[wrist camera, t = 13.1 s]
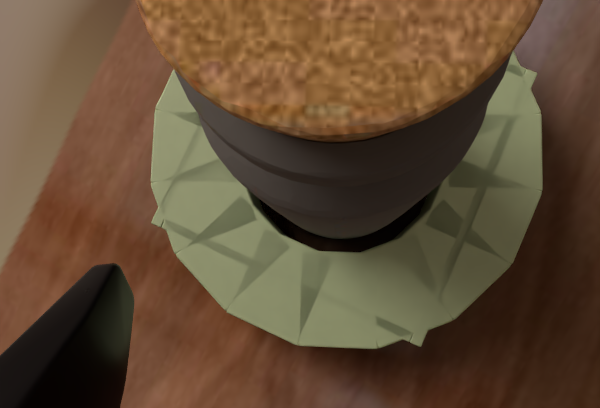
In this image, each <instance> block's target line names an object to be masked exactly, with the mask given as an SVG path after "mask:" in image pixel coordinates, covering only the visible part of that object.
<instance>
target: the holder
mask: <svg viewBox="0 0 600 408" xmlns="http://www.w3.org/2000/svg"><path fill="white" fill-rule="evenodd" d="M536 76H537V73H536V72H533V71H531V70H528V69H527V70H526V68H523V67H521V66H520V64H519V62H518V60H517V57H516V55H515V53H514V51H513V52H512V54H511V57H510V60H509V63H508V66H507V69H506V72H505V75H504V77H503V79H502V80H501V82H500V84H499V86H498V87H497V89H496V91H495V92H494V94H493V96H492V98H491V99H490V101H489V102H488V106H487V110H486V114H485V118H484V120H483V123H482V126H481V128H480V130H479V132H478V134H477V136H476V138H475V140H474V141H473V143H472V145H471V147H470V148H469V150H468V152H467V153H466V155H465V156H464V158H463V159H462V160H461V161H460V163H459V164H458V165H457V166H456V168H455V169H454V170H453V171H452V172H451V173H450V174H449V175H448V176H447V177H446V178H445V179H444V180H443V181H442V182H441V183H440V184H439V185H438V186H437V187H436V188H435V189H433V190H432V191H431V192H430V193H428V195H427V197H426V200H425V202H424V204H423V207H422V209H421V211H420V213H419V215H418V216H417V217H416V218H415V219H414V220H413V221H412V222H411V223H410V224H409V225H408V226H407V227H406V228H404V229H403V230H402V231H401V232H400V233H399V234H398V235H397V236H396V237H395V238H394V239H393V240H391V241H388V242H386V243H383V244H380V245H378V246H375V247H373V248H370V249H367V250H365V251H362V252H331V251H318V250H316V249H314V248H311V247H309V246H307V245H305V244H302V243H300V242H298V241H296V240H294V239H291V238H289V237H287V235H286V234H285V233H284V232H283V231H282V230H281V229H280V228H279V227H278V226H277V225H276V224H275V223H274V222H273V220H272V219H271V218H270V217H269V216H268V215H267V214H266V213H265V212H264V211H263V208H262V205H261V203H260V200H259V198H258V197H256V196H255V195H254V194H253V193H252V192H250V191H249V190H248V189H247V188H246V187H245V186H243V185H242V184H241V183H240V182H239V181H238V180H237V179H236V178H235V177H234V176H233V175H232V174H231V173H230V171H229V170H228V169H227V168H226V166H225V165H224V164H223V162H222V161H221V160H220V159H219V157H218V156H217V155H216V153H215V152H214V150H213V149H212V147H211V145H210V143H209V141H208V139H207V137H206V135H205V133H204V130H203V128H202V125H201V122H200V119H199V115H198V113H197V112H196V110H195V109H194V107H193V106H192V104H191V103H190V102H189V100H188V98H187V96H186V94H185V92H184V90H183V88H182V86H181V84H180V82H179V80H178V77H177V75H176V73H175V70H173V72H172V74H171V76H170V78H169V80H168V82H167V85H166V87H165V89H164V91H163V93H162V95H161V97H160V99H159V101H158V104H157V106H156V110H155V115H154V132H153V149H152V166H151V187H152V190H153V193H154V196H155V199H156V202H157V205H158V209H157V211H156V213H155V215H154V218H153V220H152V222H151V223H152V224H154V225H156V226H158V227H162V228H163V229H165V230H166V231H167V233H168V236H169V239H170V242H171V245H172V248H173V251H174V253H175V254H176V256H177V257H178V259H179V260H180V261H181V262H182V263H183V264H184V265H185V266H186V267H187V269H188V270H189V271H190V272H191V273H192V274H193V275H194V276H195V278H196V279H197V280H198V281H199V282H200V283H201V284H202V285H203V286H204V288H205V289H206V290H207V291H208V292H209V293H210V294H211V295H212V297H213V298H214V299H215V300H216V301H217V302H218V303H219V304H220V306H221V307H222V308H223V309H224V310H226V311H227V313H229V314H231V315H233V316H235V317H238V318H240V319H242V320H244V321H246V322H248V323H250V324H252V325H254V326H256V327H259V328H261V329H263V330H265V331H267V332H269V333H271V334H273V335H275V336H278V337H280V338H282V339H284V340H286V341H288V342H290V343H292V344H294V345H298V346H313V347H336V348H359V349H377V348H382V347H385V346H388V345H390V344H393V343H396V342H398V341H401V340H405V341H407V342H410V343H412V344H414V345H416V346H418V347H421V346H422V343H423V341H424V339H425V336H426V334H427V332H428V330H430V329H433V328H436V327H438V326H441V325H444V324H446V323H449V322H451V321H452V319H453V320H454V319H456V318H457V317H458V316H459V315H460V314H461V313H462V312H463V311H464V310H465V309H467V308H468V307H469V306H470V305H471V304H472V303H473V302H474V301H475V300H476V299H477V298H478V297H479V296H480V295H481V294H482V293H483V292H484V291H485V290H486V289H487V288H488V287H490V286H491V285H492V284H493V283H494V282H495V281H496V280H497V279H498V278H499V277H500V276H501V275H502V274H503V273H504V272H505V271H506V270H507V269H508V268H509V267H510V266H511V264H513V262H514V259H515V257H516V255H517V252H518V250H519V247H520V245H521V243H522V240H523V238H524V235H525V233H526V231H527V228H528V226H529V224H530V221H531V219H532V216H533V214H534V212H535V209H536V207H537V204H538V202H539V200H540V197H541V195H542V190H543V173H542V115H541V114H540V113H541V111H540V108H539V106H538V104H537V102H536V100H535V97H534V95H533V93H532V91H531V88H532V85H533V83H534V81H535V78H536Z"/></svg>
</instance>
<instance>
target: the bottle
mask: <svg viewBox="0 0 600 408" xmlns="http://www.w3.org/2000/svg"><path fill="white" fill-rule="evenodd" d="M542 1H543V0H136V2H137V6H138V9H139V11H140V14H141V16H142V19H143V21H144V23H145V26H146V28H147V30H148V33H149V35H150V36H151V38H152V40H153V41H154V43H155V45H156V46H157V48H158V50H159V51H160V53H161V54H162V55H163V56H164V58H165V59H166V60H167V61H168V63H169V64H170V65H171V66H172V67H173V69H174V70H175V73H176V75H177V77H178V80H179V82H180V84H181V86H182V88H183V90H184V92H185V94H186V96H187V98H188V100H189V102H190V103H191V104H192V106H193V107H194V109H195V110H196V112H197V113H198V115H199V119H200V122H201V125H202V128H203V130H204V133H205V135H206V137H207V139H208V141H209V143H210V145H211V147H212V149H213V150H214V152H215V153H216V155H217V156H218V157H219V159H220V160H221V161H222V162H223V164H224V165H225V166H226V168H227V169H228V170H229V171H230V173H231V174H232V175H233V176H234V177H235V178H236V179H237V180H238V181H239V182H240V183H241V184H242V185H243V186H245V187H246V188H247V189H248V190H249V191H250V192H252V193H253V194H254V195H255V196H256V197H258V198H259V199H260V200H262V201H263V202H264V203H266V204H267V205H268V206H270V207H271V208H272V209H274V210H275V211H277V212H278V213H280V214H281V215H282V216H284V217H285V218H287V219H288V220H290V221H291V222H293V223H294V224H296V225H297V226H299V227H301V228H302V229H304V230H306V231H308V232H310V233H313V234H315V235H318V236H322V237H326V238H331V239H352V238H358V237H362V236H365V235H368V234H371V233H374V232H376V231H378V230H379V229H381V228H383V227H385V226H386V225H388V224H390V223H391V222H393V221H394V220H395V219H397V218H398V217H399V216H401V215H402V214H404V213H405V212H406V211H407V210H409V209H410V208H411V207H412V206H414V205H415V204H416V203H417V202H418V201H420V200H421V199H422V198H423V197H425V196H426V195H427V194H428V193H430V192H431V191H432V190H433V189H435V188H436V187H437V186H438V185H439V184H440V183H441V182H442V181H443V180H444V179H445V178H446V177H447V176H448V175H449V174H450V173H451V172H452V171H453V170H454V169H455V168H456V166H457V165H458V164H459V163H460V161H461V160H462V159H463V158H464V156H465V155H466V153H467V152H468V150H469V148H470V147H471V145H472V143H473V141H474V140H475V138H476V136H477V134H478V132H479V130H480V128H481V126H482V123H483V120H484V118H485V114H486V110H487V106H488V102H489V101H490V99H491V98H492V96H493V94H494V92H495V91H496V89H497V87H498V86H499V84H500V82H501V80H502V79H503V77H504V75H505V72H506V69H507V66H508V63H509V60H510V57H511V54H512V52H513V50H514V49H515V47H516V46H517V44H518V43H519V41H520V40H521V39H522V37H523V36H524V34H525V33H526V31H527V30H528V28H529V27H530V25H531V23H532V21H533V19H534V17H535V15H536V13H537V11H538V9H539V7H540V6H541V4H542Z"/></svg>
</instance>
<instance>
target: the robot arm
mask: <svg viewBox="0 0 600 408" xmlns="http://www.w3.org/2000/svg"><path fill="white" fill-rule="evenodd" d="M133 312H134V297H133V293H132V291H131V288H130V286H129V284H128V282H127V280H126V278H125V276H124V274H123V272H122V269H121V268H120V266H119V265H117V264H114V263H112V264H102V265H96V266H94V267H92V268H91V269H90V270H89V271H88V272H87V273H86V274H85V275H84V276H83V277H82V278H81V279H79V280H78V281H77V282H76V283H75V284H74V285H73V286H72V287H71V288H70V289H69V290H68V291H67V292H66V293H65V294H64V295H63V296H62V297H61V298H60V299H59V300H58V301H57V302H56V303H54V304H53V305H52V306H51V307H50V308H49V309H48V310H47V311H46V312H45V313H44V314H43V315H42V316H41V317H40V318H39V319H38V320H37V321H36V322H35V323H34V324H33V325H32V326H31V327H29V328H28V329H27V330H26V331H25V332H24V333H23V334H22V335H21V336H20V337H19V338H18V339H17V340H16V341H15V342H14V343H13V344H12V345H11V346H10V347H9V348H8V349H7V350H6V351H4V352H3V353H2V354H1V355H0V408H120V404H121V400H122V396H123V391H124V386H125V381H126V374H127V366H128V357H129V348H130V339H131V330H132V321H133Z"/></svg>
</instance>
